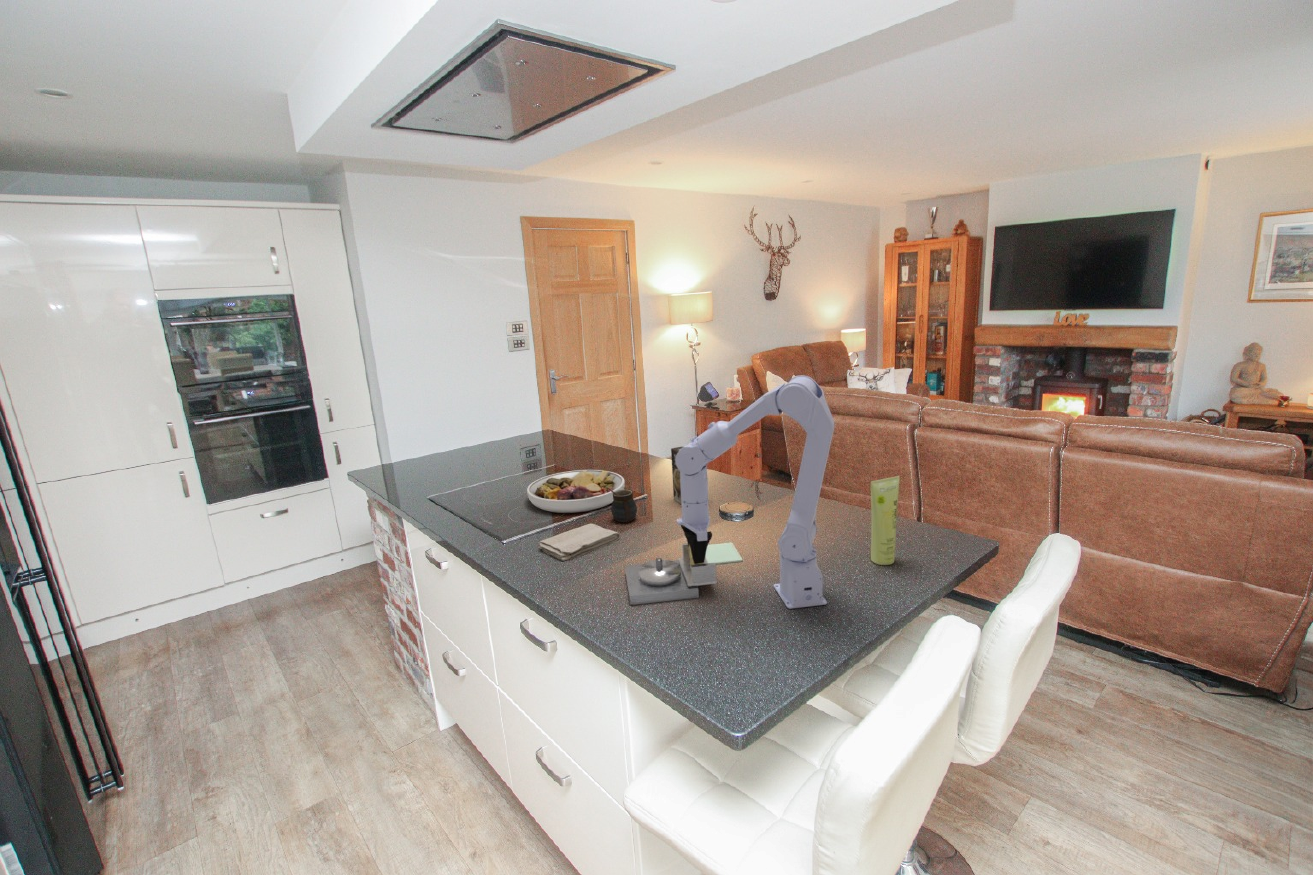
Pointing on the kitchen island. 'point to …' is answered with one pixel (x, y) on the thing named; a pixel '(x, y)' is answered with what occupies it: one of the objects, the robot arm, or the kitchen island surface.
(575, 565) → the kitchen island surface
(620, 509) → the mate gourd
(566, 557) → the washcloth
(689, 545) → the olive glass cylinder
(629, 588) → the base
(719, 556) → the pad
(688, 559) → the grey disc and bracket
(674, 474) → the coffee box
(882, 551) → the tube
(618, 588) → the kitchen island surface
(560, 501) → the bowl
